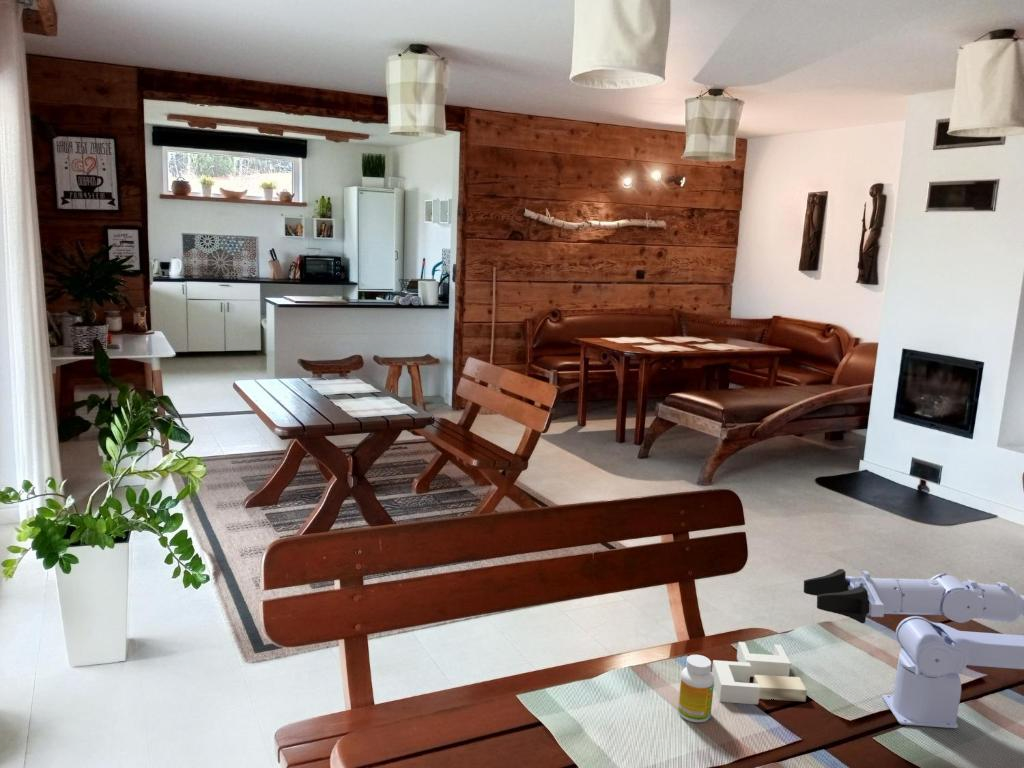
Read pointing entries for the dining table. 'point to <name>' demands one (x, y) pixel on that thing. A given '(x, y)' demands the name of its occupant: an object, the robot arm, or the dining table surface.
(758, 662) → the white u-shaped block
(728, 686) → the end cap
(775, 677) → the beige rectangular block
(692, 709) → the supplement bottle
